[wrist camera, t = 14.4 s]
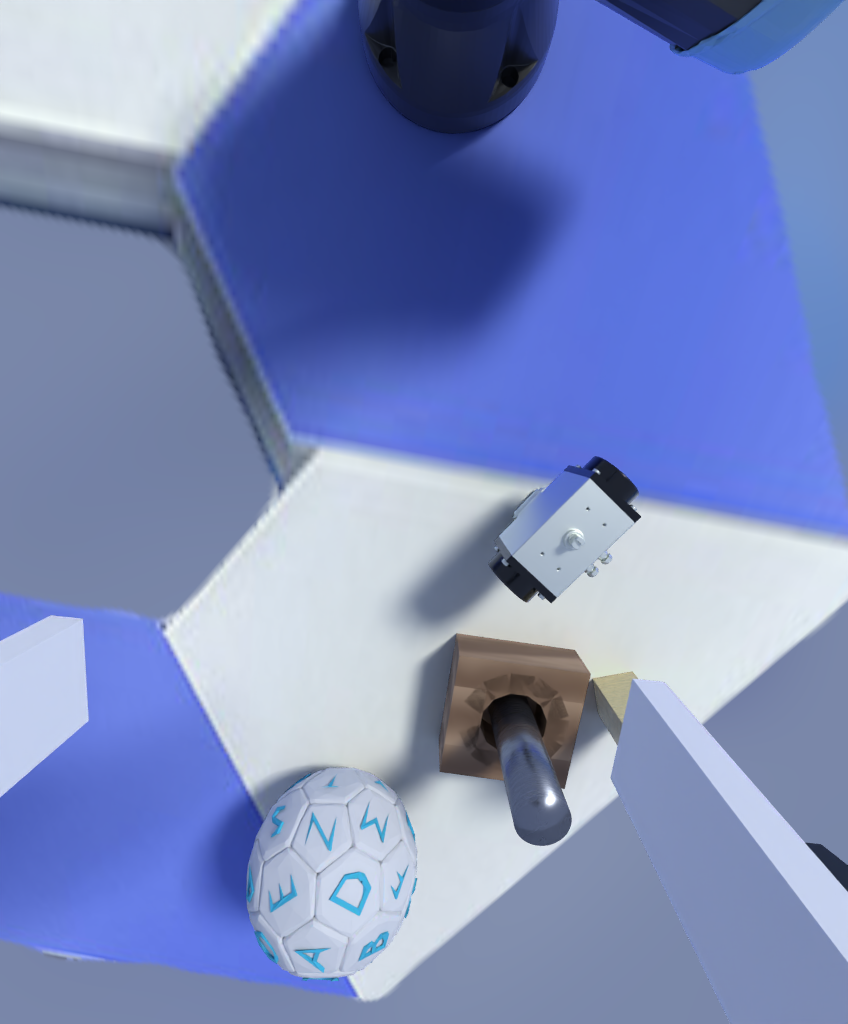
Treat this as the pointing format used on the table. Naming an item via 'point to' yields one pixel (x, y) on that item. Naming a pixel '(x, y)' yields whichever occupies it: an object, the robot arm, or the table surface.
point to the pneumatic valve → (565, 530)
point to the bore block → (501, 671)
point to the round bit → (528, 773)
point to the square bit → (613, 700)
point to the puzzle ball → (331, 874)
